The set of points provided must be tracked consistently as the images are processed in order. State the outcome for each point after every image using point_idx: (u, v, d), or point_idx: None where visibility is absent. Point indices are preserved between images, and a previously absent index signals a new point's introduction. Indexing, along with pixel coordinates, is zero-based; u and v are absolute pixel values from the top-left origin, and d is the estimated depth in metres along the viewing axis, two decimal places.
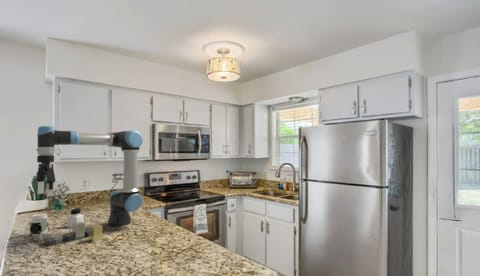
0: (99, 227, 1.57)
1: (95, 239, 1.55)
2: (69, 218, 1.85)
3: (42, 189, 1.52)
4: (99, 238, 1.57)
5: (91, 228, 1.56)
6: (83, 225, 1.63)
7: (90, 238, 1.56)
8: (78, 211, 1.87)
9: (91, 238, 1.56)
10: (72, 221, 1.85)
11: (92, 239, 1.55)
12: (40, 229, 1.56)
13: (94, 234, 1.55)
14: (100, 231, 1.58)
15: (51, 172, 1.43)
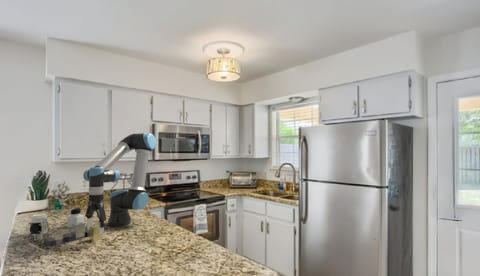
0: None
1: (95, 239, 1.55)
2: (69, 218, 1.85)
3: (91, 225, 1.62)
4: (99, 238, 1.57)
5: (91, 228, 1.56)
6: (83, 225, 1.63)
7: (90, 238, 1.56)
8: (78, 211, 1.87)
9: (91, 238, 1.56)
10: (72, 221, 1.85)
11: (92, 239, 1.55)
12: (40, 229, 1.56)
13: (94, 234, 1.55)
14: None
15: (102, 211, 1.54)
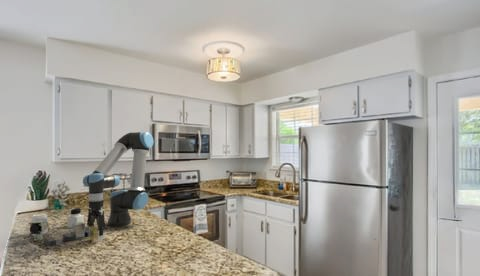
0: None
1: (95, 239, 1.55)
2: (69, 218, 1.85)
3: None
4: None
5: (91, 228, 1.56)
6: (83, 225, 1.63)
7: (90, 238, 1.56)
8: (78, 211, 1.87)
9: (91, 238, 1.56)
10: (72, 221, 1.85)
11: (92, 239, 1.55)
12: (40, 229, 1.56)
13: (94, 234, 1.55)
14: None
15: (102, 219, 1.54)
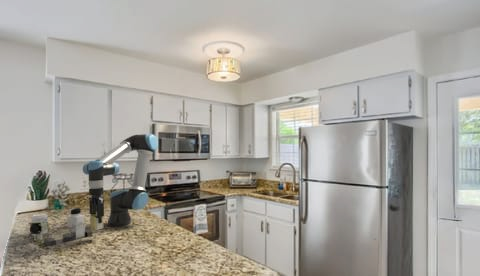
0: None
1: (96, 227, 1.56)
2: (69, 218, 1.85)
3: None
4: None
5: (92, 217, 1.57)
6: (83, 225, 1.63)
7: (91, 227, 1.57)
8: (78, 211, 1.87)
9: (92, 226, 1.57)
10: (72, 221, 1.85)
11: (93, 227, 1.56)
12: (40, 229, 1.56)
13: (95, 222, 1.56)
14: None
15: (101, 207, 1.55)
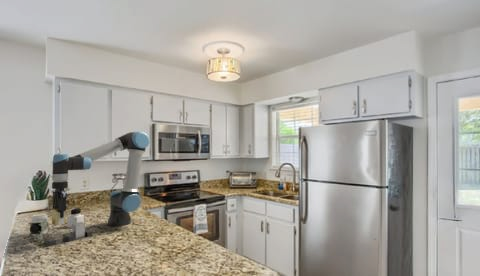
0: None
1: (57, 222, 1.52)
2: (69, 218, 1.85)
3: None
4: None
5: (54, 211, 1.53)
6: (83, 225, 1.63)
7: (53, 221, 1.53)
8: (78, 211, 1.87)
9: (53, 221, 1.53)
10: (72, 221, 1.85)
11: (54, 222, 1.52)
12: (40, 229, 1.56)
13: (56, 216, 1.52)
14: None
15: (64, 201, 1.52)
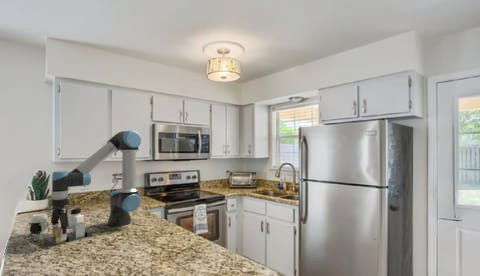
0: None
1: (58, 241, 1.52)
2: (69, 218, 1.85)
3: None
4: (62, 240, 1.54)
5: (54, 230, 1.53)
6: (83, 225, 1.63)
7: None
8: (78, 211, 1.87)
9: None
10: (72, 221, 1.85)
11: None
12: (40, 229, 1.56)
13: (56, 235, 1.51)
14: None
15: (65, 217, 1.51)
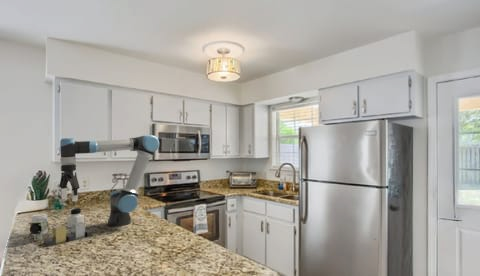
0: (62, 228, 1.54)
1: (58, 241, 1.52)
2: (69, 218, 1.85)
3: (65, 195, 1.67)
4: (62, 240, 1.54)
5: (54, 230, 1.53)
6: (83, 225, 1.63)
7: None
8: (78, 211, 1.87)
9: None
10: (72, 221, 1.85)
11: None
12: (40, 229, 1.56)
13: (56, 235, 1.51)
14: (63, 232, 1.54)
15: (75, 180, 1.59)
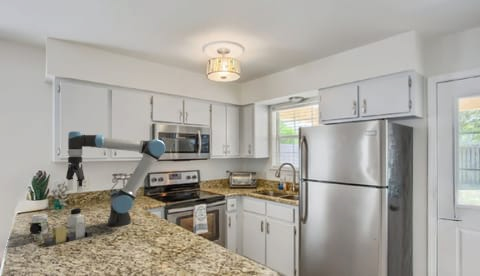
0: (62, 228, 1.54)
1: (58, 241, 1.52)
2: (69, 218, 1.85)
3: (71, 186, 1.74)
4: (62, 240, 1.54)
5: (54, 230, 1.53)
6: (83, 225, 1.63)
7: None
8: (78, 211, 1.87)
9: None
10: (72, 221, 1.85)
11: None
12: (40, 229, 1.56)
13: (56, 235, 1.51)
14: (63, 232, 1.54)
15: (81, 171, 1.65)
